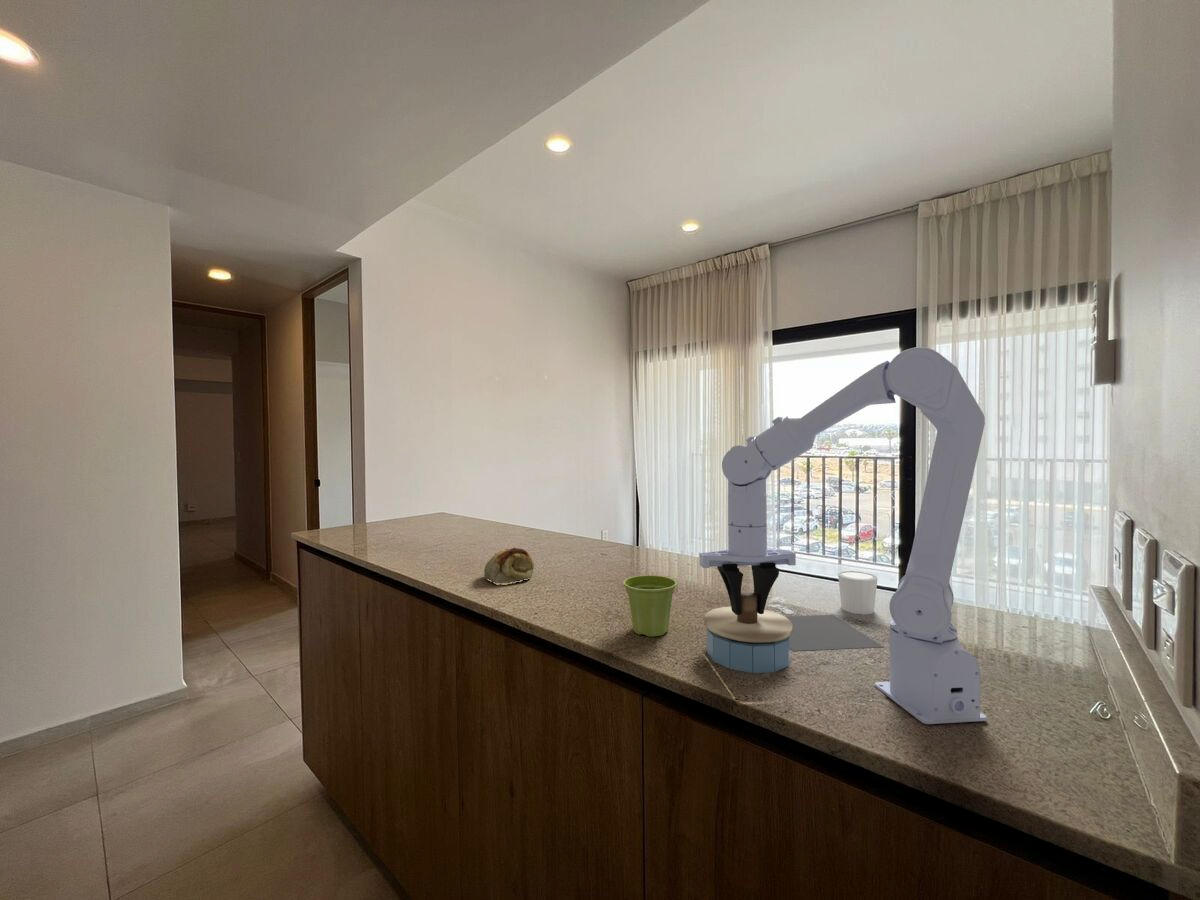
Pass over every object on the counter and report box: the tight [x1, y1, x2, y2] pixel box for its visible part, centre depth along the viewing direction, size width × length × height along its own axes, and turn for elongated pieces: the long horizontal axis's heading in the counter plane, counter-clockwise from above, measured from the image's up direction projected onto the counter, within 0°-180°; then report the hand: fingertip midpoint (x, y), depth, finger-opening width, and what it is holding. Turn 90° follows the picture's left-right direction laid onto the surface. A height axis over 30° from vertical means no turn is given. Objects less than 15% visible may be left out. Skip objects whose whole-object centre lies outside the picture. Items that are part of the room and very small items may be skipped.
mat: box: [785, 614, 885, 652], centre depth 86 cm, size 15×15×1 cm
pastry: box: [483, 547, 535, 583], centre depth 124 cm, size 14×12×8 cm
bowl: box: [706, 628, 791, 674], centre depth 77 cm, size 12×12×4 cm
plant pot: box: [622, 574, 678, 638], centre depth 88 cm, size 9×9×9 cm
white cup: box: [837, 570, 878, 615], centre depth 97 cm, size 7×7×7 cm
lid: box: [703, 591, 792, 643], centre depth 77 cm, size 13×13×5 cm
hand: (747, 612), depth 77 cm, fingers closed on lid, 3 cm apart
